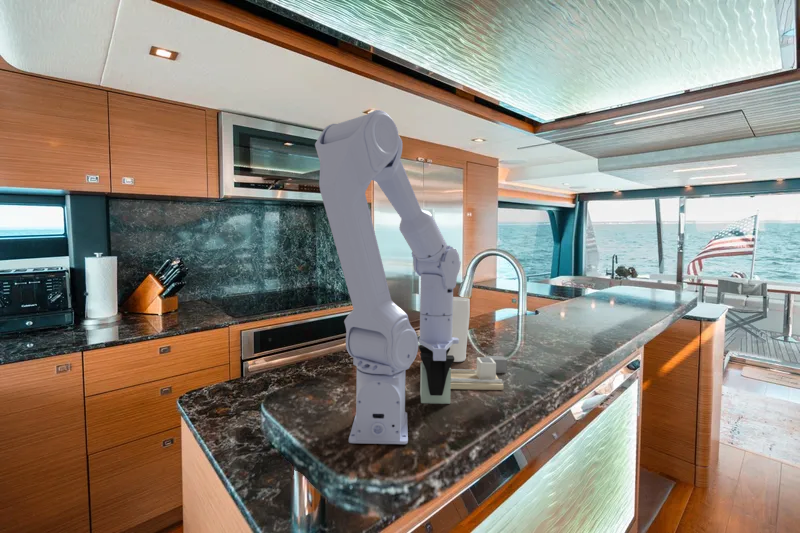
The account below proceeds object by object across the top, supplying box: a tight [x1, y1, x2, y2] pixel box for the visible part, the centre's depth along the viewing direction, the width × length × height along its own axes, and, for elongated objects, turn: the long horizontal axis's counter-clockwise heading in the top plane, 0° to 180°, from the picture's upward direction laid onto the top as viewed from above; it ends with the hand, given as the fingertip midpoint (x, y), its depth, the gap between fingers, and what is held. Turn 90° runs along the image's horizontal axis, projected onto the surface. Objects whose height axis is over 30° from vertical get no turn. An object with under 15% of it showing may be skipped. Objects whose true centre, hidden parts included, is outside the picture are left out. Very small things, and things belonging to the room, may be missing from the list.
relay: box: [485, 355, 508, 374], centre depth 84 cm, size 3×4×3 cm
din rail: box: [451, 368, 504, 383], centre depth 76 cm, size 6×15×1 cm, turn 90°
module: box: [419, 361, 452, 405], centre depth 67 cm, size 4×5×6 cm
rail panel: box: [451, 373, 505, 391], centre depth 76 cm, size 8×15×1 cm, turn 90°
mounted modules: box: [475, 357, 497, 379], centre depth 76 cm, size 4×13×4 cm, turn 90°
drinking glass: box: [447, 296, 471, 363], centre depth 91 cm, size 7×7×15 cm
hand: (434, 389), depth 67 cm, fingers closed on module, 4 cm apart
